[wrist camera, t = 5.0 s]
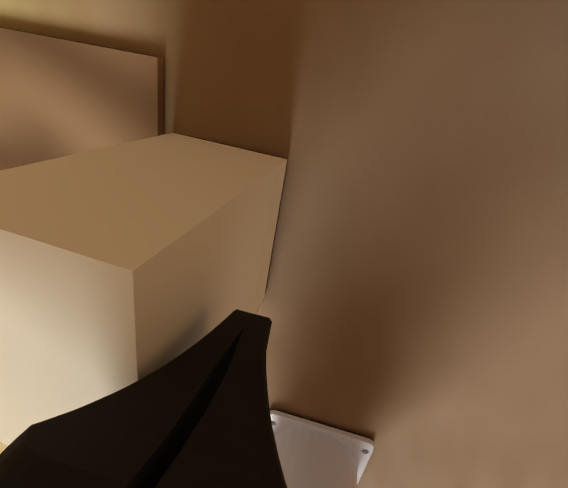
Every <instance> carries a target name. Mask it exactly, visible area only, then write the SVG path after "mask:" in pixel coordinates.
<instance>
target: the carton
mask: <svg viewBox="0 0 568 488" xmlns="http://www.w3.org/2000/svg"><path fill="white" fill-rule="evenodd" d="M286 164H287V159H283V158H279V157H275V156H270V155H266V154H262V153H258V152H253V151H249V150H245V149H240V148H236V147H232V146H228V145H223V144H219V143H215V142H210V141H206V140H202V139H198V138H193V137H189V136H185V135H180V134H176V133H169V134H164V135H160V136H155V137H151V138H146V139H142V140H137V141H133V142H128V143H123V144H119V145H114V146H110V147H105V148H101V149H96V150H92V151H87V152H83V153H78V154H73V155H69V156H64V157H60V158H55V159H51V160H46V161H42V162H37V163H33V164H28V165H23V166H19V167H14V168H10V169H5V170H1V171H0V442H1V443H3V444H5V445H7V446H9V445H10V444H11V443H12V442H13V441H14V440H15V439H16V438H17V437H18V436H19V435H20V434H22V433H23V432H24V431H25V430H26V429H27V428H28V427H29V426H30V425H32V424H36V423H39V422H42V421H44V420H47V419H50V418H53V417H56V416H58V415H61V414H64V413H67V412H70V411H73V410H75V409H78V408H80V407H83V406H85V405H87V404H90V403H92V402H94V401H96V400H99V399H101V398H103V397H105V396H108V395H110V394H112V393H114V392H116V391H119V390H121V389H123V388H125V387H127V386H129V385H130V384H132V383H134V382H136V381H138V380H140V379H142V378H143V377H145V376H147V375H149V374H151V373H152V372H154V371H156V370H157V369H159V368H161V367H162V366H164V365H165V364H167V363H169V362H170V361H172V360H173V359H175V358H176V357H177V356H179V355H180V354H182V353H183V352H184V351H186V350H187V349H189V348H190V347H192V346H193V345H194V344H196V343H197V342H198V341H199V340H201V339H202V338H203V337H204V336H206V335H207V334H208V333H209V332H211V331H212V330H213V329H214V328H215V327H216V326H218V325H219V324H220V323H221V322H222V321H223V320H224V319H226V318H227V317H228V316H229V315H230V314H231V313H232V312H233V311H234V310H236V309H238V310H242V311H245V312H249V313H252V314H256V313H257V312H258V310H259V308H260V306H261V305H262V303H263V301H264V295H265V289H266V283H267V277H268V271H269V265H270V259H271V253H272V247H273V241H274V235H275V229H276V223H277V217H278V212H279V206H280V200H281V194H282V188H283V182H284V176H285V170H286Z"/></svg>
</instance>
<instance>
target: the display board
mask: <svg viewBox="0 0 568 488" xmlns="http://www.w3.org/2000/svg"><path fill="white" fill-rule="evenodd" d="M160 135H164V58H160V57H154V56H149V55H144V54H139V53H133V52H128V51H123V50H118V49H112V48H107V47H102V46H97V45H91V44H86V43H81V42H76V41H70V40H65V39H60V38H54V37H49V36H44V35H39V34H33V33H28V32H23V31H18V30H12V29H7V28H2V27H0V171H1V170H5V169H10V168H14V167H19V166H23V165H28V164H33V163H37V162H42V161H46V160H51V159H55V158H60V157H64V156H69V155H73V154H78V153H83V152H87V151H92V150H96V149H101V148H105V147H110V146H114V145H119V144H123V143H128V142H133V141H137V140H142V139H146V138H151V137H155V136H160Z"/></svg>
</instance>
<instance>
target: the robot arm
mask: <svg viewBox="0 0 568 488" xmlns="http://www.w3.org/2000/svg"><path fill="white" fill-rule="evenodd" d="M271 324H272V321H271V320H270V318H267V317H263V316H260V315H256V314H252V313H249V312H245V311H242V310H238V309H236V310H234V311H233V312H232V313H231V314H230V315H229V316H228V317H227V318H226V319H224V320H223V321H222V322H221V323H220V324H219V325H218V326H216V327H215V328H214V329H213V330H212V331H211V332H209V333H208V334H207V335H206V336H204V337H203V338H202V339H201V340H199V341H198V342H197V343H196V344H194V345H193V346H192V347H190V348H189V349H187V350H186V351H184V352H183V353H182V354H180V355H179V356H177V357H176V358H175V359H173V360H172V361H170V362H169V363H167V364H165V365H164V366H162V367H161V368H159V369H157V370H156V371H154V372H152V373H151V374H149V375H147V376H145V377H143V378H142V379H140V380H138V381H136V382H134V383H132V384H130V385H129V386H127V387H125V388H123V389H121V390H119V391H116V392H114V393H112V394H110V395H108V396H105V397H103V398H101V399H99V400H96V401H94V402H92V403H90V404H87V405H85V406H83V407H80V408H78V409H75V410H73V411H70V412H67V413H64V414H61V415H58V416H56V417H53V418H50V419H47V420H44V421H42V422H39V423H36V424H32V425H30V426H29V427H28V428H27V429H26V430H25V431H24V432H23V433H22V434H20V435H19V436H18V437H17V438H16V439H15V440H14V441H13V442H12V443H11V444H10V445H9V446H8V447H7V448H6V449H5V450H4V451H3V452H2V453H1V454H0V488H357V484H358V482H359V480H360V478H361V476H362V474H363V471H364V469H365V467H366V465H367V463H368V461H369V458H370V456H371V454H372V452H373V450H374V442H373V441H372V440H371V439H369V438H366V437H362V436H359V435H356V434H352V433H349V432H346V431H343V430H339V429H336V428H333V427H329V426H326V425H323V424H319V423H316V422H313V421H310V420H306V419H303V418H300V417H296V416H293V415H290V414H286V413H283V412H280V411H277V410H270V408H269V401H268V391H267V378H266V349H267V344H268V339H269V334H270V329H271Z"/></svg>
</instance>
